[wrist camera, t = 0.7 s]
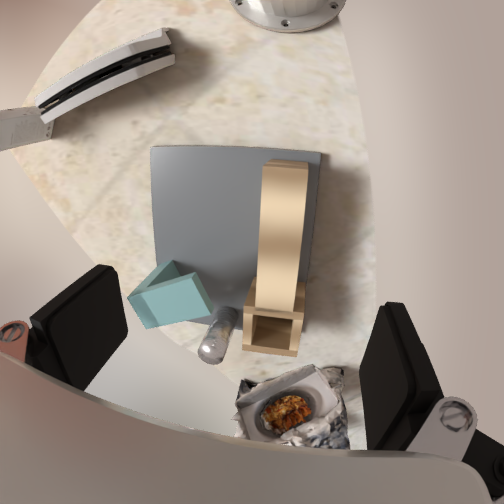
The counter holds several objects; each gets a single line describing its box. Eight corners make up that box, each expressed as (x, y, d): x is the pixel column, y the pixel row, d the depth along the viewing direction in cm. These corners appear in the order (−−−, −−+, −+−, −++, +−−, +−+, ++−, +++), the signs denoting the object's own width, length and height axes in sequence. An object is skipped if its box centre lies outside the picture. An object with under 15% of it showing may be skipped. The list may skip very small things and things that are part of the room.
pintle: (216, 304, 36) (196, 342, 30) (238, 307, 36) (223, 347, 29) (216, 322, 37) (198, 361, 31) (238, 325, 37) (223, 366, 30)
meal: (252, 394, 44) (235, 462, 32) (241, 376, 42) (220, 447, 31) (346, 376, 39) (350, 451, 27) (339, 356, 38) (344, 435, 26)
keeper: (230, 275, 34) (210, 314, 27) (174, 291, 37) (146, 329, 29) (216, 244, 33) (191, 278, 26) (159, 264, 36) (126, 297, 28)
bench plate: (155, 146, 31) (150, 147, 30) (320, 152, 28) (320, 153, 27) (166, 311, 40) (163, 316, 39) (298, 331, 37) (297, 337, 36)
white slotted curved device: (171, 26, 25) (130, 29, 18) (181, 61, 28) (145, 76, 21) (64, 77, 29) (15, 100, 21) (75, 105, 32) (29, 134, 24)
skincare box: (57, 111, 31) (-11, 119, 20) (51, 141, 33) (-15, 156, 22) (33, 105, 31) (-30, 113, 20) (28, 133, 33) (-34, 146, 22)
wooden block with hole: (299, 323, 35) (296, 357, 30) (252, 318, 36) (242, 350, 31) (319, 163, 28) (322, 171, 22) (260, 158, 29) (248, 165, 23)
